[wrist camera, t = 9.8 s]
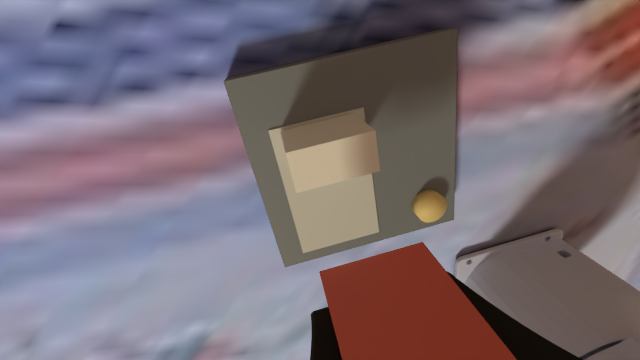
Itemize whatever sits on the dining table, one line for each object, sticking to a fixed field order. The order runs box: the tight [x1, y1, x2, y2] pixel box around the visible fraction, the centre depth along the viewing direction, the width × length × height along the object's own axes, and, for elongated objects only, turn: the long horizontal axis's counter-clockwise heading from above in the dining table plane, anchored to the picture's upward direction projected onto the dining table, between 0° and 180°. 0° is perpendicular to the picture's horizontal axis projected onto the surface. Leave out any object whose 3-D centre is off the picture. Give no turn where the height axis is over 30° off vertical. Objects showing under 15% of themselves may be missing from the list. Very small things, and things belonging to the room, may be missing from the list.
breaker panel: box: [224, 28, 458, 267], centre depth 18 cm, size 12×12×2 cm
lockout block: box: [320, 242, 517, 360], centre depth 10 cm, size 4×4×5 cm
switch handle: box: [280, 113, 380, 193], centre depth 15 cm, size 4×2×3 cm, turn 101°
